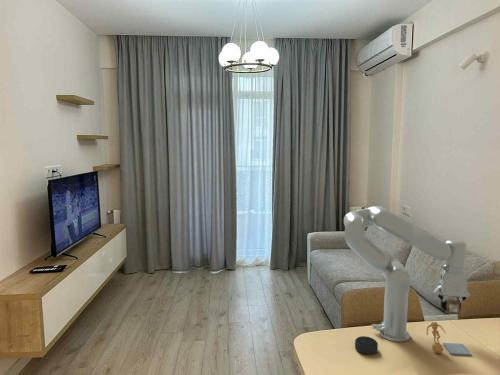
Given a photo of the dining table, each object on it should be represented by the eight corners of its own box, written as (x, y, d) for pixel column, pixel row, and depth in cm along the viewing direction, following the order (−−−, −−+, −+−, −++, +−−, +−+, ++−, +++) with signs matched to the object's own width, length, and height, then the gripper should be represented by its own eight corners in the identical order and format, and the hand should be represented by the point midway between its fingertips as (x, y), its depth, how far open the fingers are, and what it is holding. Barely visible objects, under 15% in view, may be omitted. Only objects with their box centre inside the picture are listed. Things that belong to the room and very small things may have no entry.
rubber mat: (450, 354, 148) (450, 352, 148) (442, 344, 156) (442, 342, 156) (471, 356, 148) (471, 354, 147) (462, 345, 155) (462, 343, 155)
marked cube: (446, 313, 157) (447, 302, 157) (441, 308, 162) (442, 297, 162) (459, 314, 157) (460, 303, 156) (453, 309, 162) (454, 298, 161)
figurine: (431, 356, 147) (432, 327, 146) (421, 348, 153) (423, 320, 152) (449, 354, 149) (451, 325, 148) (439, 346, 155) (441, 319, 153)
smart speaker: (350, 347, 154) (350, 337, 154) (367, 342, 158) (367, 333, 157) (364, 357, 146) (365, 348, 146) (382, 353, 150) (382, 343, 149)
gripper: (436, 270, 155) (433, 312, 157) (479, 273, 153) (475, 315, 155) (429, 265, 162) (426, 305, 164) (470, 267, 161) (467, 307, 162)
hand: (450, 309), depth 160 cm, fingers closed on marked cube, 5 cm apart
